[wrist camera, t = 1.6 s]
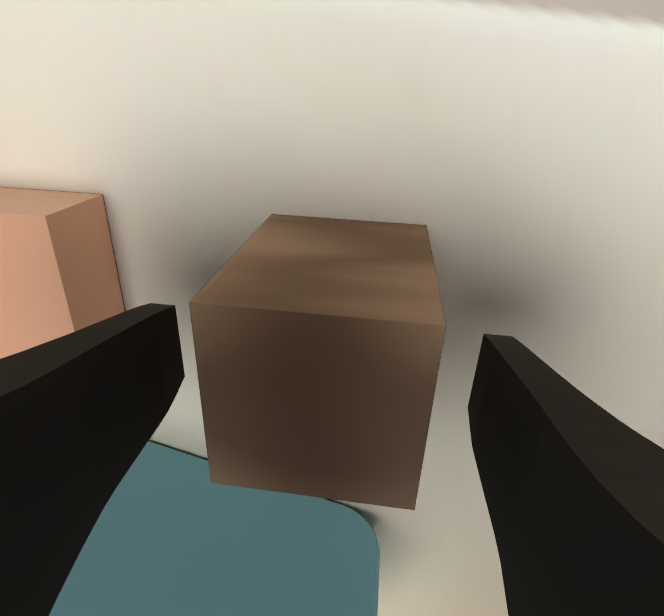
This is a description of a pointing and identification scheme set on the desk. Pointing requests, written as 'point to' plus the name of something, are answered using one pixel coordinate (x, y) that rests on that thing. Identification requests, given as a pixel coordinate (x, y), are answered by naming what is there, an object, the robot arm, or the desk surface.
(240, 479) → the walnut block
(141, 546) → the teal rounded block
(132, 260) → the desk surface
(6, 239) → the terracotta plinth
